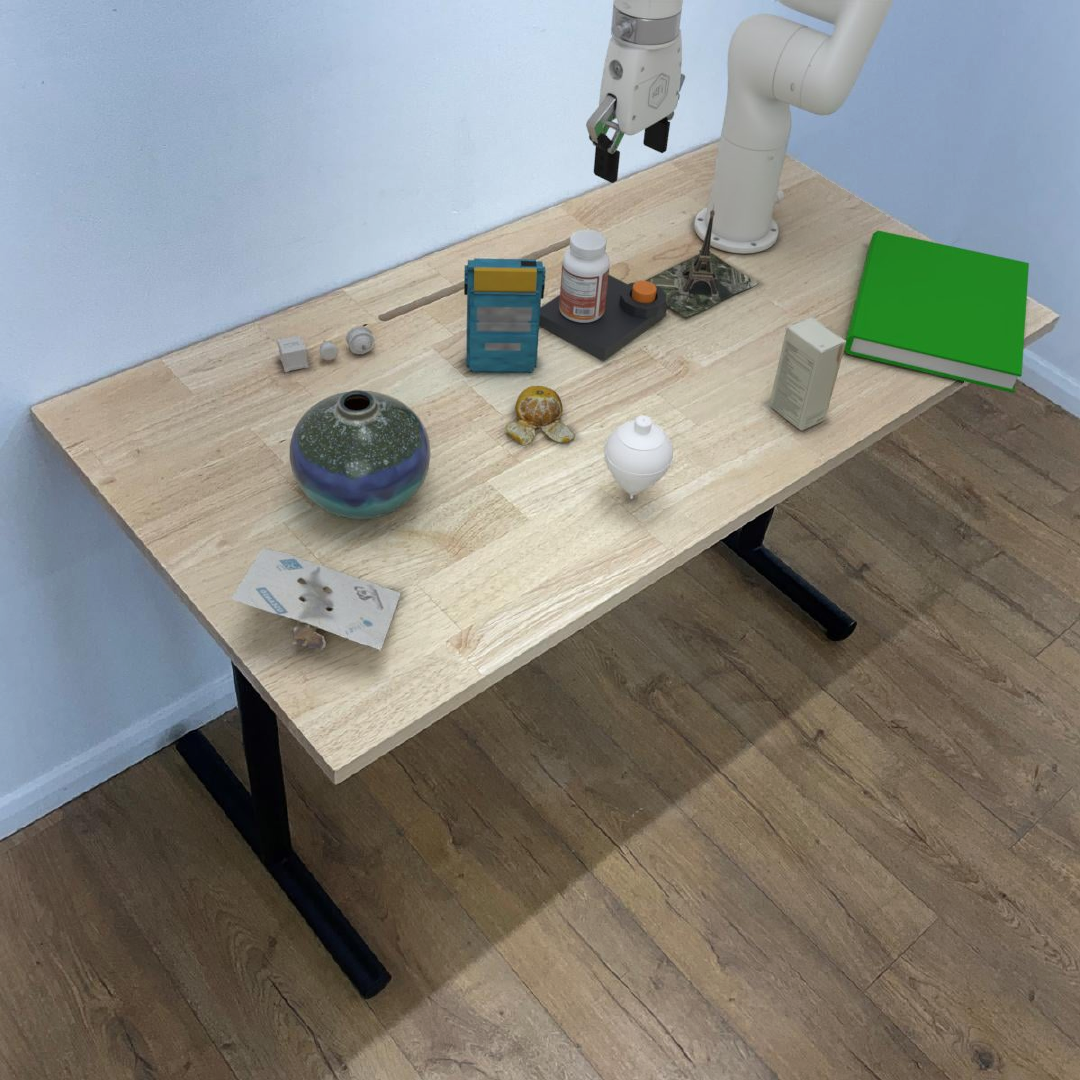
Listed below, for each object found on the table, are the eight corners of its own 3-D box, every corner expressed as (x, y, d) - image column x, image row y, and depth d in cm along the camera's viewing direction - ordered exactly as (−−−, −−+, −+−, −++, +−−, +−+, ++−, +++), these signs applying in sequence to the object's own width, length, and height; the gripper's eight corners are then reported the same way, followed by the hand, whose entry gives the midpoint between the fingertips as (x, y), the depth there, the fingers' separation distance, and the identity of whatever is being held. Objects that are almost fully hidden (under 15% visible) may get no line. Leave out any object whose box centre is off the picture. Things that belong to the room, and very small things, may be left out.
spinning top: (587, 506, 134) (596, 427, 125) (615, 467, 139) (626, 388, 130) (647, 531, 132) (662, 452, 123) (674, 490, 137) (689, 412, 128)
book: (1021, 280, 171) (1028, 262, 169) (1013, 393, 152) (1021, 374, 150) (868, 247, 175) (874, 229, 173) (842, 352, 156) (848, 334, 154)
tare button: (640, 287, 159) (642, 277, 158) (659, 297, 158) (661, 287, 157) (626, 297, 157) (628, 287, 156) (645, 307, 156) (647, 297, 155)
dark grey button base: (599, 279, 166) (602, 257, 163) (671, 316, 160) (675, 294, 158) (533, 323, 158) (534, 301, 155) (607, 363, 152) (609, 341, 150)
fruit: (507, 445, 140) (508, 421, 138) (503, 400, 146) (504, 377, 143) (575, 444, 141) (578, 421, 139) (568, 399, 147) (571, 376, 144)
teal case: (538, 356, 153) (545, 257, 142) (539, 376, 150) (547, 277, 139) (463, 355, 152) (464, 256, 141) (463, 375, 149) (464, 276, 138)
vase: (356, 562, 126) (348, 472, 116) (266, 489, 133) (252, 399, 123) (459, 493, 134) (459, 403, 124) (369, 428, 141) (364, 338, 131)
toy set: (282, 354, 145) (275, 336, 147) (285, 375, 147) (279, 357, 149) (376, 335, 148) (368, 318, 150) (377, 356, 151) (369, 339, 153)
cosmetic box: (825, 421, 147) (850, 342, 138) (800, 432, 145) (823, 353, 136) (791, 392, 150) (812, 314, 142) (766, 403, 149) (786, 324, 140)
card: (367, 687, 115) (381, 647, 113) (219, 638, 114) (231, 596, 112) (388, 629, 126) (401, 591, 123) (252, 583, 124) (264, 544, 122)
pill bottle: (584, 292, 160) (591, 220, 152) (613, 314, 157) (622, 242, 149) (549, 307, 157) (554, 235, 149) (578, 330, 154) (586, 257, 146)
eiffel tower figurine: (706, 252, 172) (721, 169, 162) (758, 284, 167) (777, 200, 157) (634, 288, 165) (646, 203, 155) (687, 322, 160) (702, 237, 150)
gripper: (624, 58, 123) (610, 202, 135) (718, 9, 132) (697, 148, 145) (569, 35, 126) (560, 178, 139) (665, -12, 135) (648, 127, 148)
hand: (630, 163), depth 142 cm, fingers open, 9 cm apart
